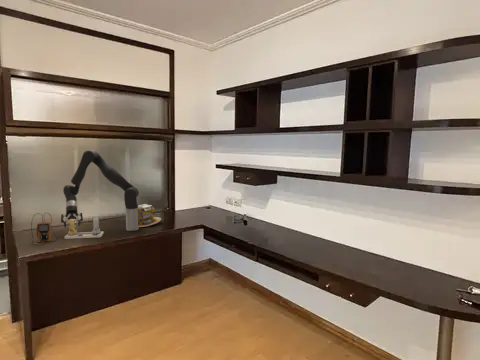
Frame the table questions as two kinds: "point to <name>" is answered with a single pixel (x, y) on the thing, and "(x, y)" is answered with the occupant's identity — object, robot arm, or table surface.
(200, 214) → the table surface
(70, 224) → the brass leg
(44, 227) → the multimeter
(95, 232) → the white stand
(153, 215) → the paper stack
